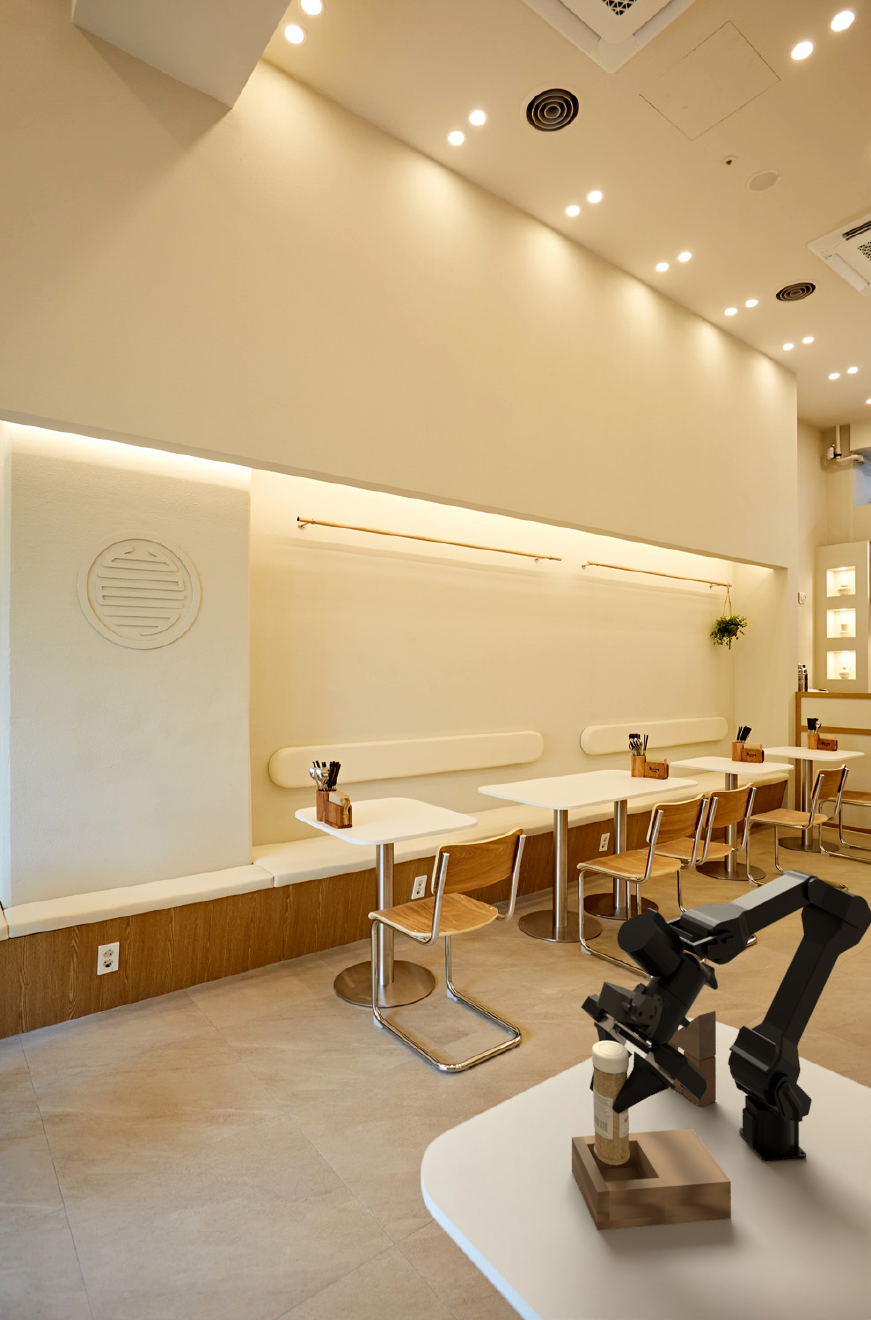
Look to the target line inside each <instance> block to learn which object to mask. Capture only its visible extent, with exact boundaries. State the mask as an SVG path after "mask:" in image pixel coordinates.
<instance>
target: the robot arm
mask: <svg viewBox="0 0 871 1320" xmlns="http://www.w3.org/2000/svg"><path fill="white" fill-rule="evenodd" d="M800 909H802V910H801V912H800V919H801V923H802V924H801V925H802V930H803V935H802V938H801V940H800V942H799V945H798V947H797V948H796V951H795V953H794V955H793V957H792V959H791V961H790V963H789V966H788V967H787V969H786V971H785V974H784V976H783V978H782V980H781V982H780V985H779V987H778V988H777V991H776V993H775V995H774V996H773V999H772V1001H771V1004H770V1006H769V1007H768V1009H767V1012H766V1014H765V1016H764V1017H763V1020H762V1021H761V1023H759V1024H758V1025H756V1026H754V1027H751V1028H750V1027H748V1026H746V1025H743V1026H741V1027H740V1028H739V1030H738V1033H737V1036H736V1039H735V1041H734V1042H733V1043H732V1045H731V1046H730V1047H729V1051H730V1054H729V1057H728V1060H727V1061H728V1062H727V1065H728V1066H729V1072H730V1075H731V1078H732V1079H733V1080H734V1083H735V1086H736V1089H737V1090H739V1091H741V1092H742V1093H744V1094H745V1096H744V1105H745V1106H744V1107H743V1108H742V1110H741V1111H742V1115H741V1116H742V1119H741V1120H742V1121H741V1122H742V1127H740V1128H739V1130H738V1133H739V1134H740V1135H741V1136H742V1138H743V1140H745V1141H746V1143H747V1144H748V1145H749V1146H750V1147H751V1149H753V1151H754V1152H755V1153H756V1154H757V1156H758V1157H759V1158H760V1159H761V1161H763V1162H766V1163H767V1162H779V1161H793V1160H804V1159H805V1160H806V1159H807V1153H806V1152H805V1151H804V1150H803V1149H802V1147H800V1134H799V1133H800V1128H799V1127H800V1122H803V1119H804V1117H805V1116H808V1115H809V1114H810V1109H811V1105H812V1101H813V1100H812V1098H811V1097H810V1096H809V1095H808V1093H806V1091H804V1090H803V1088H802V1087H801V1086H800V1085H799V1084H798V1080H799V1077H800V1074H801V1063H800V1058H799V1057H800V1055H799V1049H798V1047H799V1044H800V1040H801V1038H802V1036H803V1035H804V1033H805V1029H806V1028H807V1026H808V1023H809V1021H810V1019H811V1017H812V1015H813V1012H814V1010H815V1007H816V1006H817V1003H818V1002H819V999H820V997H821V995H822V993H823V991H824V988H825V986H826V985H827V982H828V980H829V977H830V976H831V973H832V971H833V969H834V967H835V964H836V963H837V961H838V958H839V957H840V955H841V954H843V953H845V952H847V951H848V950H850V949H852V948H854V947H855V946H857V945H858V944H860V942H861V941H862V938H863V937H864V935H865V934H866V932H867V931H868V929H869V927H870V926H871V908H870V906H869V904H868V901H867V900H866V898H865V897H863V896H860V895H858V894H855V893H852V892H849V891H845V890H842V889H839V888H836V887H834V886H832V885H830V884H828V883H827V882H825V881H824V880H822V879H820V877H818V876H817V875H814V874H810V873H807V872H804V871H801V870H797V869H793V868H792V869H787V870H785V871H783V872H782V874H781V875H780V876H779V877H777V878H775V879H773V880H771V881H769V882H767V883H765V884H763V885H761V886H759V887H757V888H754V889H753V890H751V891H749V892H747V893H745V894H743V895H741V896H740V897H737V898H736V899H733V900H732V901H728V902H726V903H709V904H708V903H707V904H703V905H699V906H696V907H692V908H689V909H687V910H686V911H684V912H683V913H682V914H681V916H679V917H676V918H673V919H671V920H667V921H666V919H665V917H663V915H662V914H661V913H660V912H659V911H658V910H655V909H653V908H651V907H647V908H646V909H645V911H644V912H643V913H640V914H637V915H634V916H632V917H630V918H629V919H628V920H625V921H624V922H623V923H622V924H621V926H620V928H619V929H618V932H617V937H616V938H617V939H616V940H617V944H618V947H619V949H621V951H623V952H624V953H625V954H626V955H627V956H628V957H629V958H630V959H631V961H633V962H634V963H635V964H636V965H637V966H638V967H639V968H640V969H641V970H642V971H643V972H644V973H646V974H647V976H650V977H651V979H650V980H649V982H648V983H647V985H645V984H644V983H642V982H640V983H638V984H636V985H635V987H634V989H632V990H631V989H628V988H626V987H623V986H622V985H621V986H620V985H617V984H615V983H611V982H608V981H604V982H603V984H602V988H601V990H600V993H599V995H598V994H592V995H588V996H587V997H586V999H585V1000H584V1002H583V1003H582V1004H581V1006H580V1008H581V1009H582V1011H584V1012H585V1013H586V1014H587V1015H589V1017H590V1018H591V1019H592V1020H594V1022H593V1026H594V1028H595V1029H596V1031H597V1036H598V1037H597V1038H598V1042H600V1041H614V1042H617V1043H620V1044H622V1045H623V1046H624V1047H625V1045H626V1044H627V1041H628V1043H630V1044H632V1045H633V1046H635V1048H637V1049H638V1050H640V1051H641V1052H643V1053H644V1054H645V1057H643V1056H642V1055H640V1054H639V1053H638V1052H637V1051H634V1052H633V1053H632V1052H630V1050H628V1054H629V1059H630V1058H631V1057H632V1055H633V1067H632V1070H631V1071H630V1073H629V1075H628V1076H627V1080H626V1082H625V1083H624V1085H623V1087H622V1089H621V1090H620V1092H619V1094H618V1096H617V1098H616V1100H615V1102H614V1104H613V1106H612V1109H613V1110H614V1111H615V1112H616V1113H617V1114H620V1113H621V1112H623V1111H625V1110H627V1109H628V1110H629V1109H630V1108H632V1107H634V1106H636V1105H637V1104H639V1103H640V1102H642V1101H645V1100H646V1099H649V1098H650V1097H652V1096H654V1095H657V1094H659V1093H662V1092H663V1091H666V1090H668V1089H671V1090H672V1091H675V1090H676V1086H674V1085H673V1083H674V1081H675V1080H676V1079H677V1080H678V1081H679V1083H680V1085H681V1087H682V1088H683V1089H684V1090H686V1091H687V1092H688V1093H690V1094H691V1095H692V1096H694V1097H695V1098H696V1099H698V1100H699V1101H700V1099H701V1098H702V1096H703V1094H704V1092H705V1091H706V1089H707V1076H706V1075H705V1074H704V1073H703V1072H702V1071H701V1070H700V1069H699V1068H698V1067H697V1066H696V1065H695V1064H694V1063H692V1062H691V1061H690V1060H689V1059H688V1058H687V1057H686V1056H685V1055H684V1053H683V1052H681V1051H680V1050H679V1049H678V1050H676V1049H675V1048H673V1047H672V1046H670V1045H669V1042H670V1041H671V1039H672V1037H673V1036H674V1034H675V1032H676V1031H677V1029H678V1030H679V1028H680V1026H681V1027H684V1028H686V1029H687V1027H688V1025H689V1024H690V1020H689V1019H688V1017H686V1016H687V1014H688V1012H689V1011H690V1009H691V1007H692V1006H693V1005H694V1002H695V1001H696V999H697V998H698V996H699V994H700V993H701V991H702V990H703V988H704V986H707V987H709V988H710V989H713V990H714V991H716V990H718V987H719V985H718V984H719V983H718V980H717V978H716V975H715V974H716V972H715V971H716V969H715V967H714V966H712V965H709V964H707V963H705V962H702V961H700V960H698V958H696V957H695V956H697V957H700V958H701V959H706V960H708V961H709V962H712V963H713V964H716V965H719V966H723V965H726V964H728V963H730V962H732V961H733V960H734V959H735V958H736V957H738V956H739V955H740V954H741V953H742V952H744V951H745V950H746V949H747V946H748V943H749V939H750V938H751V937H752V936H753V935H755V934H757V933H758V932H760V931H762V930H764V929H765V928H767V927H769V926H771V925H773V924H775V923H777V922H778V921H781V920H782V919H785V918H786V917H788V916H789V915H791V914H793V913H795V912H797V911H799V910H800ZM685 951H688V952H690V953H688V952H685ZM649 1043H650V1044H649ZM593 1085H594V1070H593V1072H592V1075H591V1080H590V1084H589V1090H591V1092H593Z"/></svg>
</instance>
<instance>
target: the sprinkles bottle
mask: <svg viewBox="0 0 871 1320" xmlns="http://www.w3.org/2000/svg"><path fill="white" fill-rule="evenodd" d="M628 1051H629V1050H628V1049H627V1047H626V1046H625V1045H624V1046H623V1045H622V1044H620V1043H617V1042H614V1041H600V1042H599V1041H597V1042H595V1043H594V1044H593V1045H592V1048H591V1063H592V1068H593V1071H594V1085H593V1091H592V1092H593V1093H592V1094H593V1127H594V1136H595V1145H594V1152H595V1154H596V1156H597V1157H598V1158H599V1159H600V1160H602V1161H603V1162H605V1163H607V1164H610V1165H621V1164H623V1163H625V1162H627V1161H628V1160H629V1157H630V1150H629V1133H630V1132H629V1131H630V1120H629V1117H630V1116H629V1108H628V1109H627V1110H625V1111H623V1112H621V1113H620V1114H617V1113H616V1112H615V1111H614V1110H613V1109H612V1106H613V1104H614V1102H615V1100H616V1098H617V1096H618V1094H619V1092H620V1090H621V1089H622V1087H623V1085H624V1083H625V1082H626V1080H627V1078H628V1070H629V1068H630V1060H629V1059H630V1058H629V1054H628Z"/></svg>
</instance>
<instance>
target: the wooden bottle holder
mask: <svg viewBox="0 0 871 1320" xmlns="http://www.w3.org/2000/svg"><path fill="white" fill-rule="evenodd" d="M594 1145H595V1135H586V1136H585V1135H584V1136H572V1137H571V1173H572V1175H573V1178H574V1179H575V1182H576V1184H577V1187H578V1189H579V1192H580V1193H581V1195H582V1198H583V1200H584V1202H585V1204H586V1207H587V1210H588V1213H589V1214H590V1216H591V1219H592V1221H593V1223H594V1225H595V1228H596V1230H597V1231H602V1230H603V1231H604V1230H614V1229H625V1228H639V1227H650V1226H662V1225H671V1224H673V1225H674V1224H683V1223H685V1224H686V1223H696V1222H707V1221H708V1222H709V1221H716V1220H717V1221H719V1220H730V1219H732V1196H731V1195H732V1194H731V1193H732V1191H731V1190H732V1181H731V1180H730V1178H729V1177H728V1175H727V1174H726V1173H725V1172H724V1171H723V1169H722V1167H721V1166H720V1165H719V1163H718V1162H717V1161H716V1160H715V1157H713V1155H712V1154H711V1152H710V1151H709V1150H708V1149H707V1147H706V1146H705V1145H704V1143H703V1142H702V1141H701V1139H700V1138H699V1136H698V1135H697V1134H696V1133H695V1130H694V1129H692V1128H685V1129H684V1128H683V1129H671V1130H657V1131H654V1130H653V1131H643V1132H629V1150H630V1157H629V1160H628V1161H627V1162H625V1163H623V1164H621V1165H610V1164H607V1163H605V1162H603V1161H602V1160H600V1159H599V1158H598V1157H597V1156H596V1154H595V1152H594Z"/></svg>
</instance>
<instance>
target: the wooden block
mask: <svg viewBox="0 0 871 1320" xmlns="http://www.w3.org/2000/svg"><path fill="white" fill-rule="evenodd" d="M689 1021H690V1020H689ZM716 1024H717V1011H716V1010H712V1011H708V1012H705V1013H702V1014H699V1015H697V1016H696V1017H694V1018H693V1019H692V1020H691V1021H690V1024H689V1025H688V1027H687V1029H686V1028H684V1027H683V1026H681V1028H680V1029H679V1028H678V1029H677V1031H676V1032H675V1034H674V1036H673V1037H672V1039H671V1041H670V1042H669V1045H670V1046H672V1047H673V1048H675V1049H676V1050H678V1051H679V1049H681V1050H683V1055H685V1056H686V1057H687V1058H688V1059H689V1060H690V1061H691V1062H692V1063H694V1064H695V1065H696V1066H697V1067H698V1068H699V1069H700V1070H701V1071H702V1072H703V1073H704V1074H705V1075H706V1076H707V1089H706V1091H705V1092H704V1094H703V1096H702V1098H701V1099H700V1101H699V1100H698V1099H696V1098H695V1097H694V1096H692V1095H691V1094H690V1093H688V1092H687V1091H686V1090H684V1089H683V1088H682V1087H681V1085H680V1083H679V1081H678V1080H677V1079H676V1080H675V1081H674V1083H673V1085H674V1086H676V1089H675V1090H676V1091H677V1092H678V1093H681V1094H683V1096H684V1097H685V1098H687V1099H688V1100H690V1101H691V1102H692V1103H693V1104H695V1105H697V1106H698V1107H701V1108H702V1107H704V1106H706V1105H709V1104H712V1103H715V1102H716V1100H717V1083H716V1082H717V1074H716V1073H717V1065H716V1064H717V1058H716V1055H717V1036H716V1035H717V1025H716Z"/></svg>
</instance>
